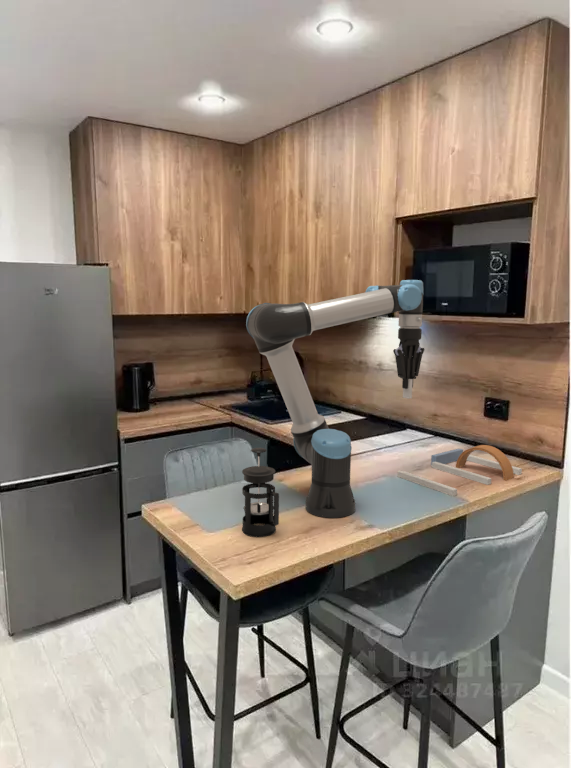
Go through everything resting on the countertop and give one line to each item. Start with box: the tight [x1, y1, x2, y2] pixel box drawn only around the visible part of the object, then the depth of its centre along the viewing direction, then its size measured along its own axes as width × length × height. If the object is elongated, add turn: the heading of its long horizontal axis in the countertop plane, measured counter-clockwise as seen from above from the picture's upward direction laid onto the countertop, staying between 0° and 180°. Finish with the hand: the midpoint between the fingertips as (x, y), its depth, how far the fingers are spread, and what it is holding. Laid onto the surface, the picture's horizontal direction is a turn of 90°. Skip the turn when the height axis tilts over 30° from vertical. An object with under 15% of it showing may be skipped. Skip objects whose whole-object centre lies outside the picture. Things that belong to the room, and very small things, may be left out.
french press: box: [241, 447, 280, 538], centre depth 143 cm, size 12×9×23 cm
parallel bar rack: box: [397, 448, 523, 497], centre depth 193 cm, size 40×26×4 cm, turn 126°
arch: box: [455, 444, 514, 482], centre depth 195 cm, size 6×20×10 cm, turn 40°
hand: (407, 397), depth 178 cm, fingers closed
